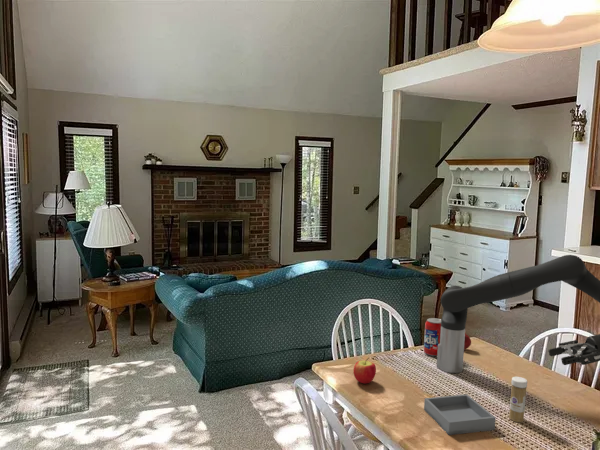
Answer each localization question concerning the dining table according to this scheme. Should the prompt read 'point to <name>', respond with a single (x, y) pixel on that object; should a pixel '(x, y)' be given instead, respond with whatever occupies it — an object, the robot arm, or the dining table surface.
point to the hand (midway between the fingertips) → (555, 357)
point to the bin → (459, 414)
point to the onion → (467, 341)
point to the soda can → (432, 336)
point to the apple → (364, 371)
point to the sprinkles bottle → (518, 399)
